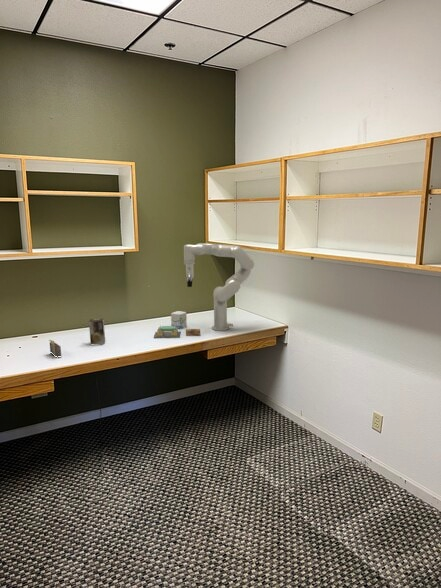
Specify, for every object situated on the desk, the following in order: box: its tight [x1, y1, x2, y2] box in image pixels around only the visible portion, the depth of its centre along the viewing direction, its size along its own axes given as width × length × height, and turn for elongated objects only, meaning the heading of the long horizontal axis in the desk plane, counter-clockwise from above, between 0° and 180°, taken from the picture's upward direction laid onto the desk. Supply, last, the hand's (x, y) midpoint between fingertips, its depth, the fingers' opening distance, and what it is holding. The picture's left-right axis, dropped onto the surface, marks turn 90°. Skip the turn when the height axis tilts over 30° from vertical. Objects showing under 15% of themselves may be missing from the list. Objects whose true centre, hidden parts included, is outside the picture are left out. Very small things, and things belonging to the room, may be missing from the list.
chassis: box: [153, 325, 182, 339], centre depth 298 cm, size 18×12×6 cm, turn 92°
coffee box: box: [88, 318, 106, 345], centre depth 281 cm, size 9×6×16 cm
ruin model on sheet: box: [48, 339, 62, 357], centre depth 258 cm, size 11×3×10 cm, turn 41°
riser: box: [185, 328, 201, 337], centre depth 299 cm, size 10×4×4 cm, turn 92°
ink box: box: [170, 310, 188, 330], centre depth 318 cm, size 8×8×12 cm
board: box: [158, 325, 176, 332], centre depth 298 cm, size 12×7×2 cm, turn 92°
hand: (189, 285), depth 306 cm, fingers open, 9 cm apart
